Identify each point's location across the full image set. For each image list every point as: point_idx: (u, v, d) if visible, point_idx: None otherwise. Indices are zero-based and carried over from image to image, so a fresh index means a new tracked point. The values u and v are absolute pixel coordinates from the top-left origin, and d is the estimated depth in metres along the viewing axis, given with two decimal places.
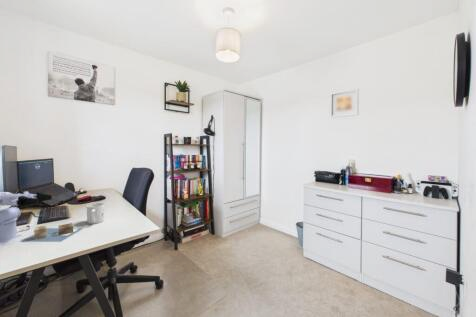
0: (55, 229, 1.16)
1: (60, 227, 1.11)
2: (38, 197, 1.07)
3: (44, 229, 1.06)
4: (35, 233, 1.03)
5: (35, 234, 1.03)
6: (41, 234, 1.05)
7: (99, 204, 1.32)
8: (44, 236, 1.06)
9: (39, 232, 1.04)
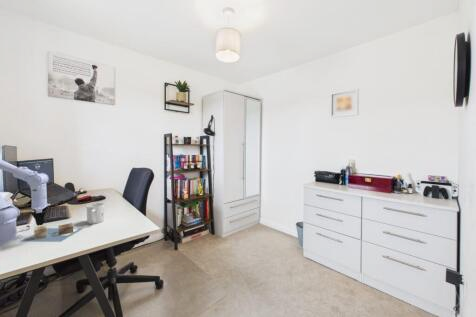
0: (55, 229, 1.16)
1: (60, 227, 1.11)
2: None
3: (44, 229, 1.06)
4: (35, 233, 1.03)
5: (35, 234, 1.03)
6: (41, 234, 1.05)
7: (99, 204, 1.32)
8: (44, 236, 1.06)
9: (39, 232, 1.04)
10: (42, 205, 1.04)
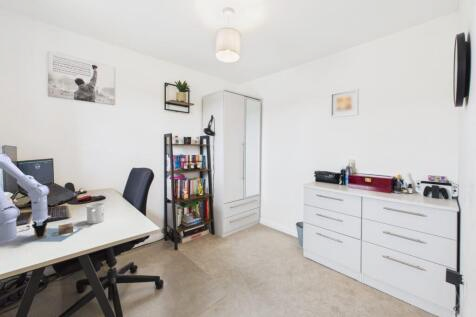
0: (55, 229, 1.16)
1: (60, 227, 1.11)
2: None
3: None
4: (35, 233, 1.03)
5: (35, 234, 1.03)
6: None
7: (99, 204, 1.32)
8: (44, 236, 1.06)
9: None
10: (42, 217, 1.05)
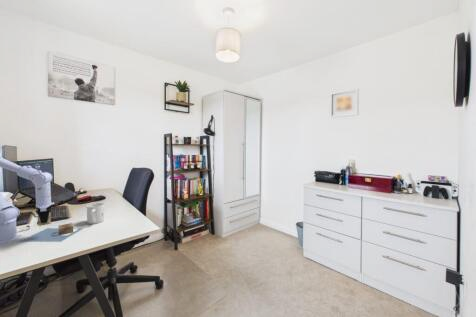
0: (55, 229, 1.16)
1: (60, 227, 1.11)
2: None
3: None
4: (39, 220, 1.04)
5: (39, 220, 1.04)
6: None
7: (99, 204, 1.32)
8: (48, 222, 1.06)
9: None
10: (46, 204, 1.05)
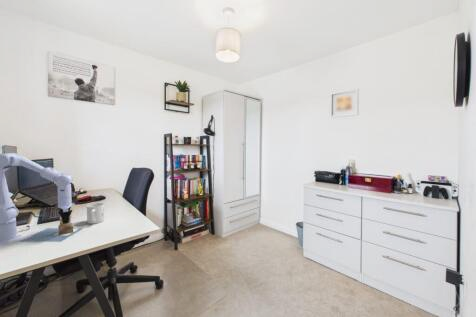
0: (55, 229, 1.16)
1: None
2: None
3: None
4: (61, 222, 1.09)
5: (60, 223, 1.09)
6: (66, 223, 1.11)
7: (99, 204, 1.32)
8: (68, 225, 1.12)
9: None
10: (68, 204, 1.11)
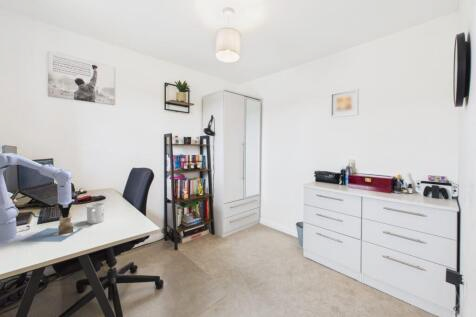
0: (55, 229, 1.16)
1: None
2: None
3: (68, 218, 1.12)
4: (61, 222, 1.09)
5: (60, 223, 1.09)
6: (66, 223, 1.11)
7: (99, 204, 1.32)
8: (68, 225, 1.12)
9: (64, 221, 1.10)
10: (67, 200, 1.10)
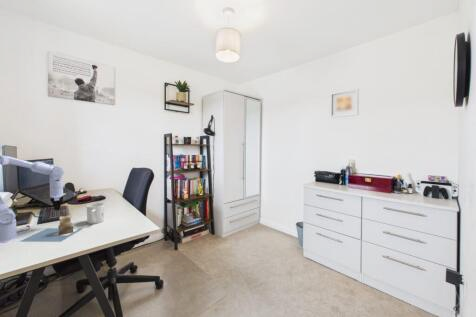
0: (55, 229, 1.16)
1: None
2: None
3: (68, 218, 1.12)
4: (61, 222, 1.09)
5: (60, 223, 1.09)
6: (66, 223, 1.11)
7: (99, 204, 1.32)
8: (68, 225, 1.12)
9: (64, 221, 1.10)
10: (59, 194, 1.17)
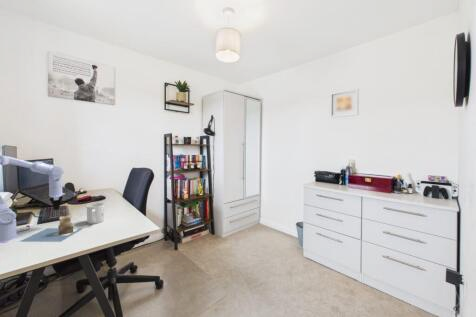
0: (55, 229, 1.16)
1: None
2: None
3: (68, 218, 1.12)
4: (61, 222, 1.09)
5: (60, 223, 1.09)
6: (66, 223, 1.11)
7: (99, 204, 1.32)
8: (68, 225, 1.12)
9: (64, 221, 1.10)
10: (58, 194, 1.18)
